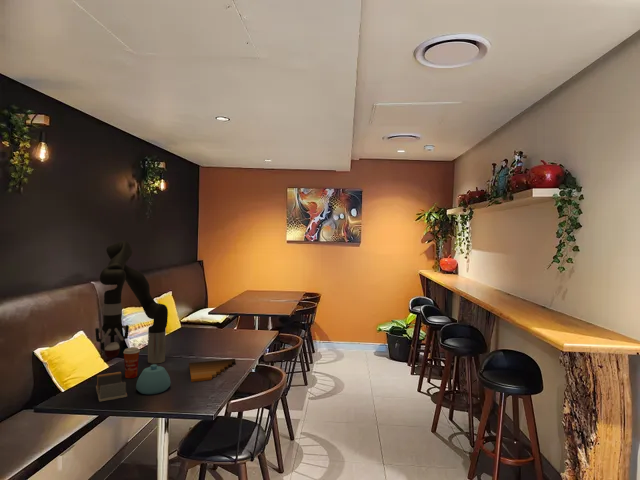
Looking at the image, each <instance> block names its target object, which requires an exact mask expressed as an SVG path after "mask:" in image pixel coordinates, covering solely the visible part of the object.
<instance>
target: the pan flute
mask: <svg viewBox="0 0 640 480" xmlns="http://www.w3.org/2000/svg"><path fill="white" fill-rule="evenodd" d="M235 365H236V358H229V359H219V360H208V361H207V360H206V361H197V362H196V361H195V362H189V363H188V371H189V377H190V382H191V383H194V382H203V381H212V380H213V378H216V377H217V375H221V373H224V372H225V370H229V368H232V367H233V366H235Z"/></svg>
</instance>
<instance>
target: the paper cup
mask: <svg viewBox="0 0 640 480" xmlns="http://www.w3.org/2000/svg"><path fill="white" fill-rule="evenodd" d="M140 352H141V350H140V349H139V347H128V348H125V349H124V350H123V361H124V362H123V363H124V365H123V366H124V378H125V379H134V378H137V377H138V370H139V359H140V358H139V357H140Z"/></svg>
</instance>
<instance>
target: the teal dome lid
mask: <svg viewBox="0 0 640 480" xmlns="http://www.w3.org/2000/svg"><path fill="white" fill-rule="evenodd" d="M170 386H171V378H170V375H169V373H168V371H167V370H166V369H165V367H163V366H161V365H160V366H159V365H158V364H157V363H156V364H151V365H150V366H149V367H148V366H147V367H146V368H144V369H143V370H142V372H140V375H139V377H138V378H137V381H136V385H135V389H136V390H137V391H138V392H139V393H140V394H142V395H157V394H161V393H163V392H166V391H167V390H168V389H169V387H170Z"/></svg>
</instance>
